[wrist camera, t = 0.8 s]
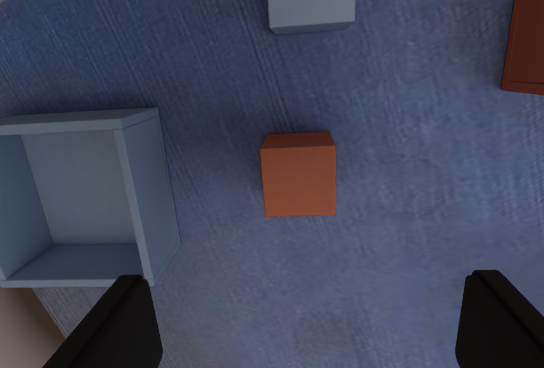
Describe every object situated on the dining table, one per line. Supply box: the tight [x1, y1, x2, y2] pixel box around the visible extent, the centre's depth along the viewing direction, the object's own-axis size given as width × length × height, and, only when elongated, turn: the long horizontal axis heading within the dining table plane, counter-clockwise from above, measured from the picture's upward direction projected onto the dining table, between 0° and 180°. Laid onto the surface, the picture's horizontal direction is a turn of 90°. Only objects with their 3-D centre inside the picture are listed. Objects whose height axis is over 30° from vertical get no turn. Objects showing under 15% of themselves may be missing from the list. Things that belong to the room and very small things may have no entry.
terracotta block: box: [260, 131, 336, 217], centre depth 23 cm, size 4×4×4 cm
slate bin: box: [0, 107, 181, 287], centre depth 24 cm, size 11×11×6 cm
